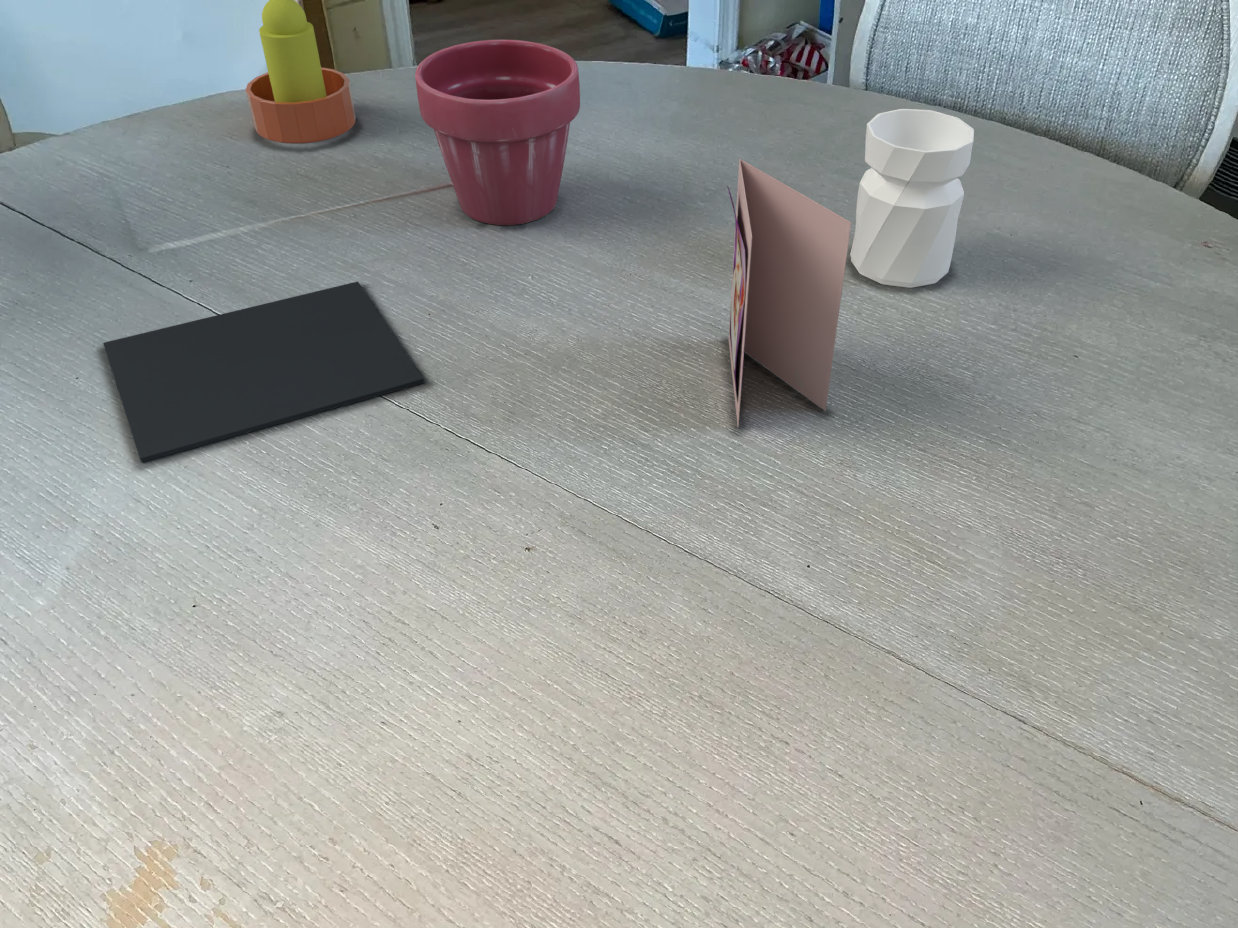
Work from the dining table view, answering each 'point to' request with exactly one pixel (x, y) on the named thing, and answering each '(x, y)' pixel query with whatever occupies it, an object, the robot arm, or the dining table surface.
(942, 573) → the dining table surface
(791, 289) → the greeting card
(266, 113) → the orange round bowl
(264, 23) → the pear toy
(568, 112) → the flower pot
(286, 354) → the mat
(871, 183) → the vase
